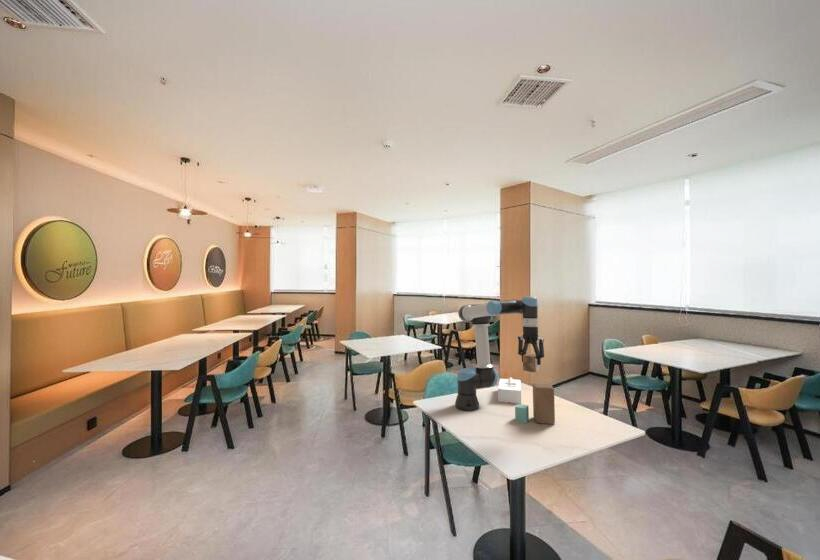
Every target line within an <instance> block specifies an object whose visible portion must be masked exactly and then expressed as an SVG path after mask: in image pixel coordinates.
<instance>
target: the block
mask: <svg viewBox="0 0 820 560" xmlns="http://www.w3.org/2000/svg"><path fill="white" fill-rule="evenodd" d="M532 406H533V407H532V410H533V412H532V416H533V419H534V420H535V422H536V423H537V424H545V425H547V424H548V425H555V423H556V413H555V412H556V411H555V389H554V386H553V385H552V384H551V383H547V382H533V383H532Z"/></svg>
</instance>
